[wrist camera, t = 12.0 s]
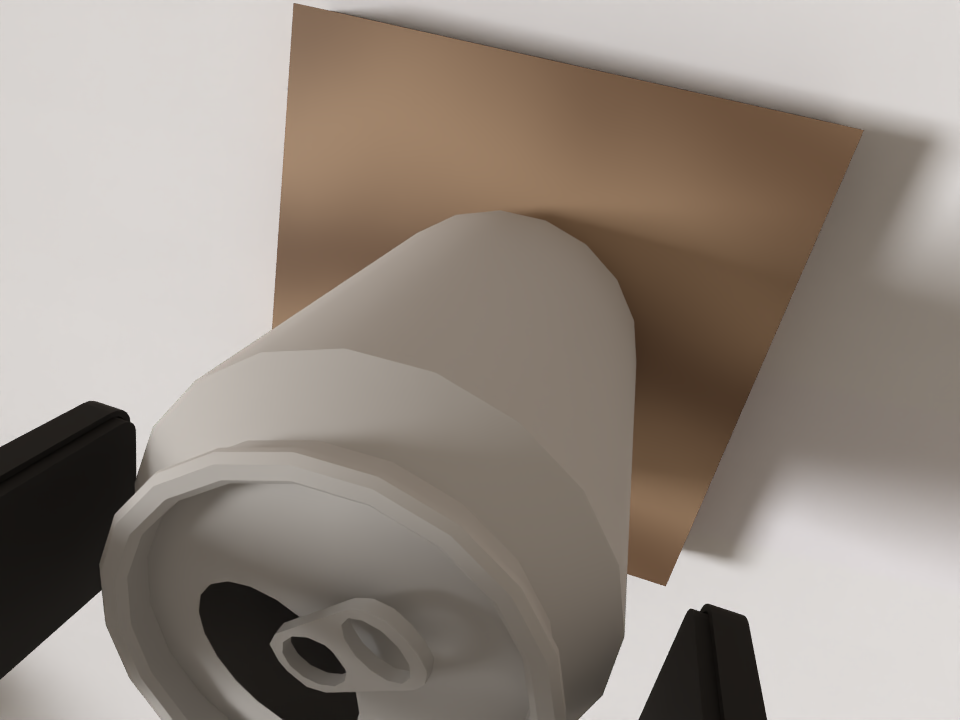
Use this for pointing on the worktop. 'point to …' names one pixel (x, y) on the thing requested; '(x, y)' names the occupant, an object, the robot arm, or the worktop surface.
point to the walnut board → (568, 212)
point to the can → (394, 497)
